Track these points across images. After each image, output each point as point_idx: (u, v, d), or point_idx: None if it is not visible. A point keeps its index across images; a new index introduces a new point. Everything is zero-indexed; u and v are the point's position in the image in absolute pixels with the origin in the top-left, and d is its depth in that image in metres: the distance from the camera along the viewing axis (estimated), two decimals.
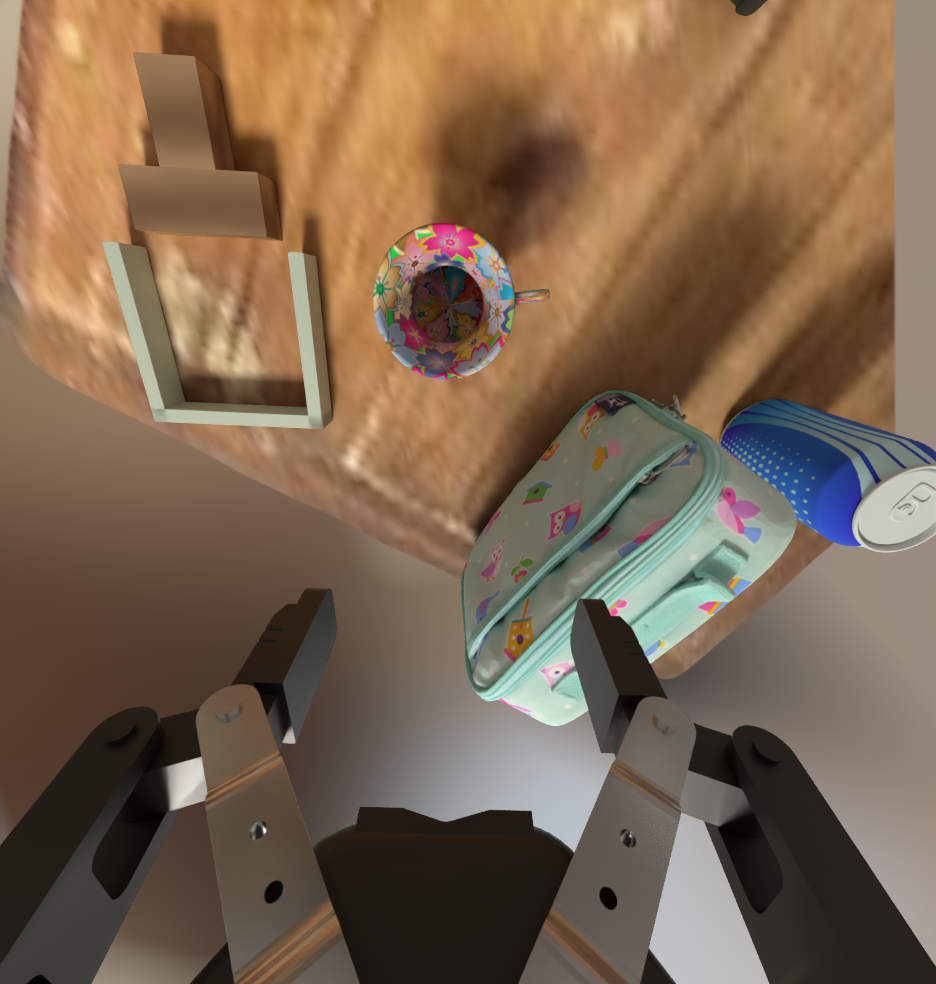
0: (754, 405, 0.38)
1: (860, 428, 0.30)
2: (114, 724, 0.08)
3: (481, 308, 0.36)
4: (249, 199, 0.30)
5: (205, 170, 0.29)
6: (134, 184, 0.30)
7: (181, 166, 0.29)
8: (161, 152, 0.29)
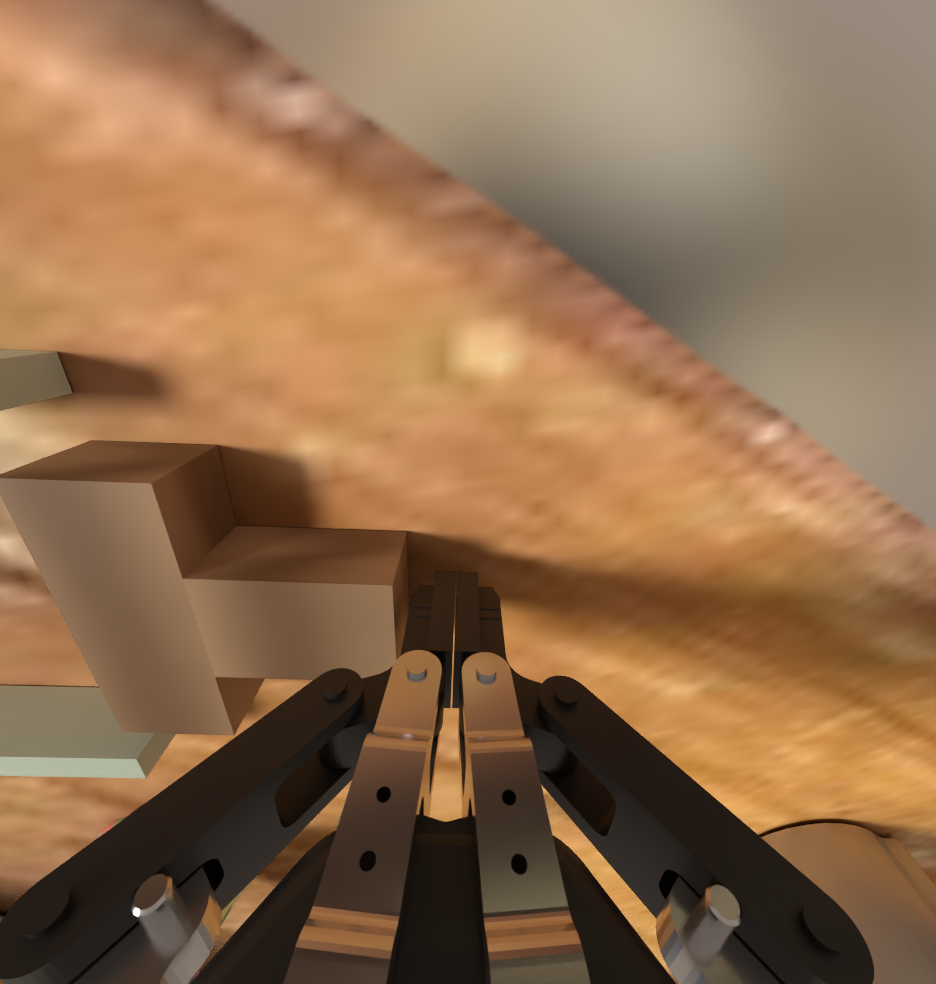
0: None
1: None
2: (334, 679, 0.09)
3: None
4: (180, 717, 0.14)
5: (207, 660, 0.13)
6: (115, 511, 0.11)
7: (199, 620, 0.12)
8: (214, 589, 0.12)
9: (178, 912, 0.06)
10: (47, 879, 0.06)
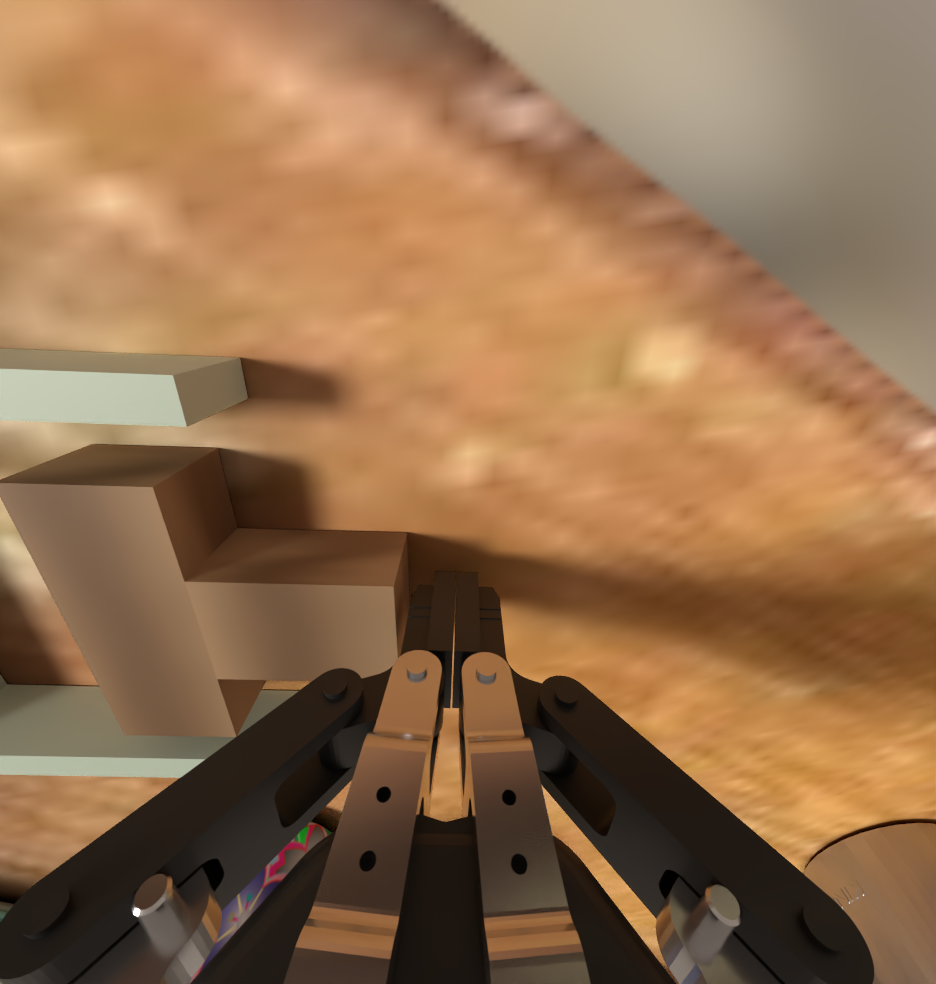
0: None
1: None
2: (334, 679, 0.09)
3: None
4: (182, 720, 0.14)
5: (209, 662, 0.13)
6: (117, 515, 0.11)
7: (201, 623, 0.12)
8: (216, 591, 0.12)
9: (178, 912, 0.06)
10: (47, 879, 0.06)
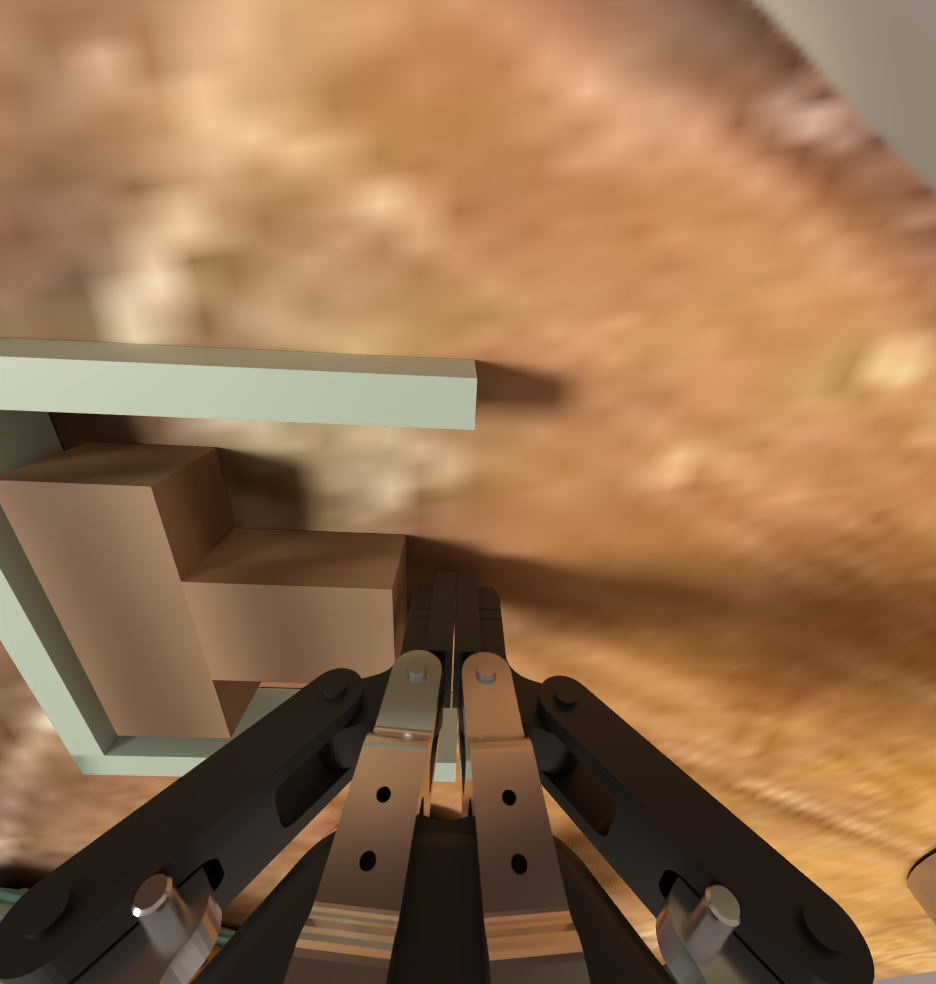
0: None
1: None
2: (334, 678, 0.09)
3: None
4: (176, 721, 0.14)
5: (204, 663, 0.13)
6: (113, 514, 0.11)
7: (197, 623, 0.12)
8: (213, 592, 0.12)
9: (178, 912, 0.06)
10: (47, 879, 0.06)
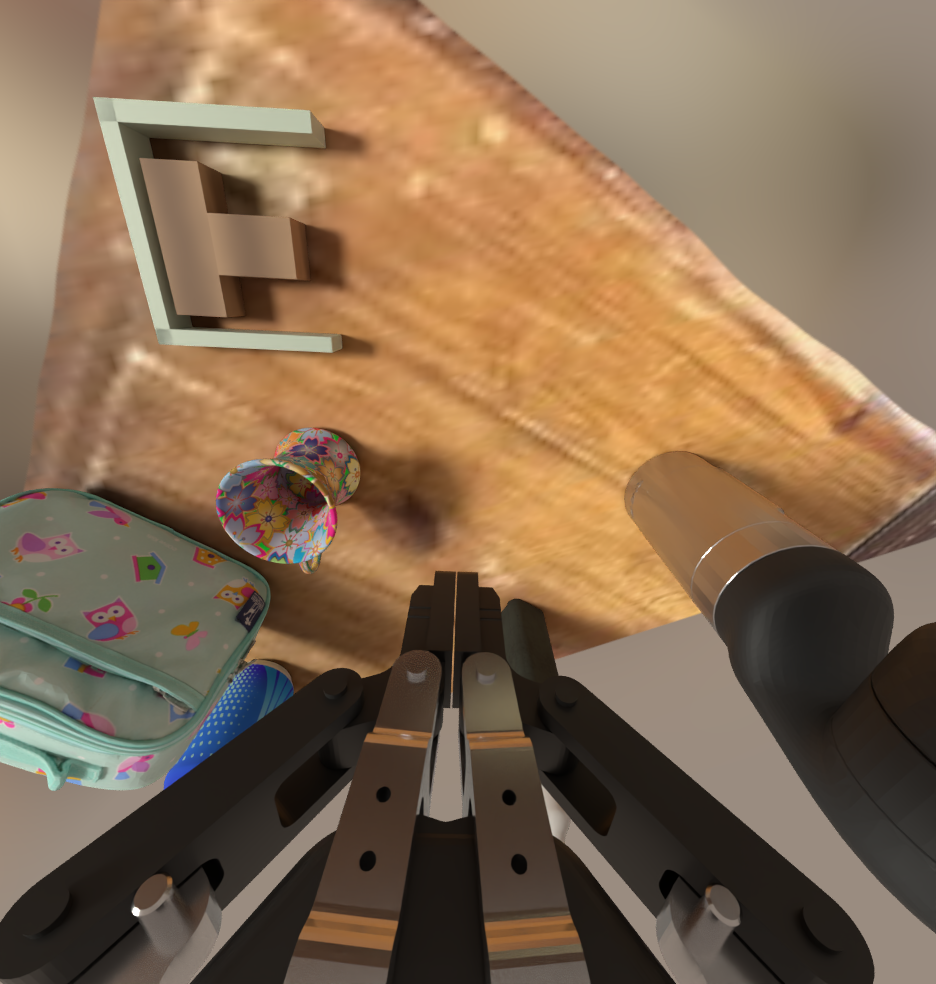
0: (285, 677, 0.52)
1: None
2: (334, 679, 0.09)
3: (320, 492, 0.42)
4: (203, 303, 0.32)
5: (215, 263, 0.31)
6: (183, 175, 0.28)
7: (213, 238, 0.30)
8: (219, 219, 0.30)
9: (178, 912, 0.06)
10: (47, 879, 0.06)
